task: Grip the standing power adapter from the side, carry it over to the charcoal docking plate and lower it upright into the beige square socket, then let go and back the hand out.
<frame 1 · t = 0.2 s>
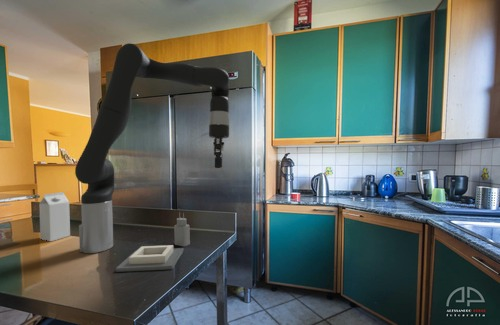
hand: (218, 167, 84), 29 cm above the table, tool pointing down, fingers open, 8 cm apart
docking plate: (152, 260, 70), on the table
milk carton: (55, 238, 94), on the table
power adapter: (182, 244, 84), on the table
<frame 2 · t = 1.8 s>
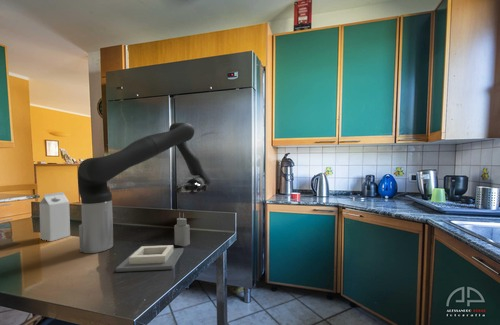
hand: (187, 190, 95), 19 cm above the table, tool horizontal, fingers open, 8 cm apart
nothing on the table moved.
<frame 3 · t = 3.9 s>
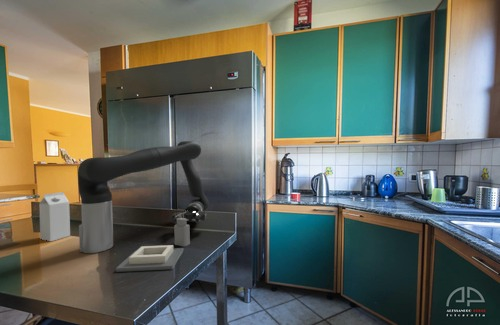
hand: (185, 220, 90), 7 cm above the table, tool horizontal, fingers open, 8 cm apart
nothing on the table moved.
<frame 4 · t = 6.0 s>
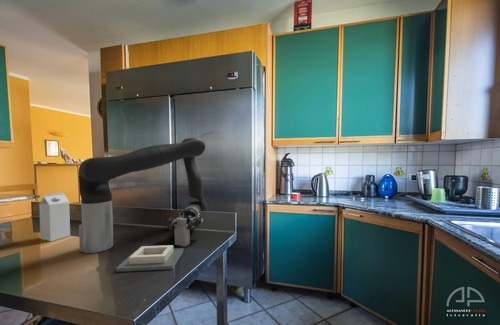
hand: (180, 227, 81), 7 cm above the table, tool horizontal, fingers closed on power adapter, 5 cm apart
power adapter: (182, 244, 84), on the table, touching gripper
everything else where it was.
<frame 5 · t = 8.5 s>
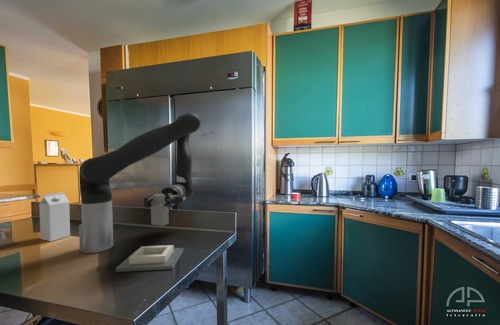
hand: (156, 204, 71), 18 cm above the table, tool horizontal, fingers closed on power adapter, 5 cm apart
power adapter: (160, 224, 73), point 11 cm above the table, touching gripper
everything else where it was.
when the fingers open (9 cm above the table, at t = 11.4 s): power adapter stays where it is, resting on docking plate.
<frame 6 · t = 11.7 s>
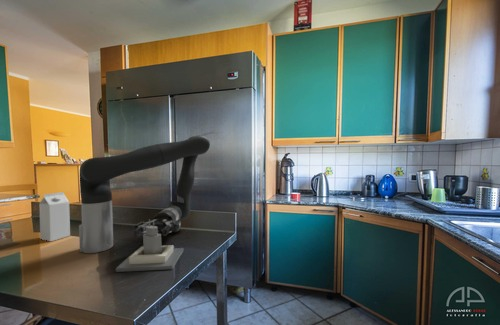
hand: (149, 233, 68), 9 cm above the table, tool horizontal, fingers open, 8 cm apart
power adapter: (152, 257, 70), point 1 cm above the table, touching docking plate
everything else where it was.
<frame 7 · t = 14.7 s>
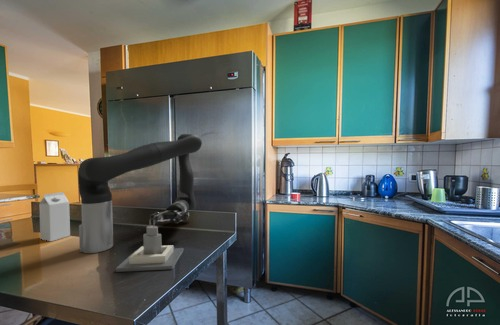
hand: (164, 221, 82), 9 cm above the table, tool horizontal, fingers open, 8 cm apart
nothing on the table moved.
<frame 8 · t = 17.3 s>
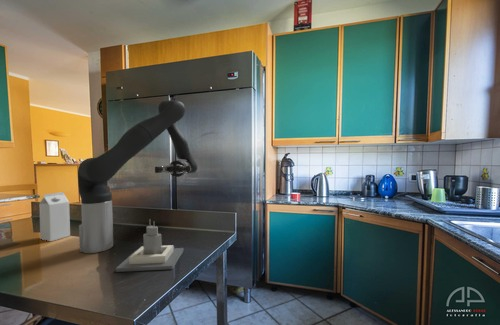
hand: (168, 169, 88), 28 cm above the table, tool horizontal, fingers open, 8 cm apart
nothing on the table moved.
at the end: power adapter 0.1 cm off-centre on the docking plate, point 0.8 cm above the docking plate's base; power adapter tilted 0°; the gripper is holding nothing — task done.
